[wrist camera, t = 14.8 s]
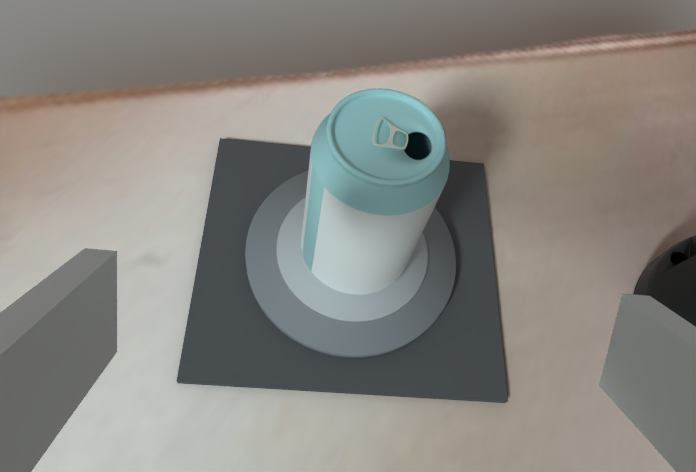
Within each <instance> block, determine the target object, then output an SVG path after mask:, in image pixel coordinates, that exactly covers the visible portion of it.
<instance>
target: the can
mask: <svg viewBox="0 0 696 472" xmlns="http://www.w3.org/2000/svg"><path fill="white" fill-rule="evenodd" d="M449 168H450V161H449V153H448V149H447V146H446V136H445V132H444V129H443V126H442V124H441V122H440V121H439V119H438V117H437V116H436V115H435V114H434V112H433V111H432V110H431V109H430V108H429V107H428V106H426V105H425V104H424V103H422V102H421V101H419V100H418V99H416V98H414V97H412V96H410V95H408V94H405V93H402V92H399V91H395V90H390V89H368V90H363V91H359V92H356V93H353V94H351V95H349V96H347V97H346V98H344V99H343V100H341V101H340V102H339V103H338V104H337V105H336V106H335V107H334V109H333V110H332V112H331V113H330V114H329V115H328V116H327V117H326V118H325V119H324V120H323V121H322V122H321V124H320V125H319V126H318V128H317V130H316V132H315V134H314V136H313V139H312V143H311V151H310V161H309V170H308V180H307V189H306V199H305V209H304V218H303V228H302V237H301V249H302V254H303V257H304V260H305V262H306V264H307V266H308V268H309V269H310V271H311V272H312V273H313V274H314V276H315V277H316V278H317V279H319V280H320V281H321V282H322V283H324V284H325V285H327V286H328V287H330V288H332V289H334V290H337V291H340V292H343V293H347V294H354V295H364V294H371V293H375V292H378V291H381V290H383V289H385V288H387V287H389V286H390V285H391V284H393V283H394V282H395V281H396V280H397V279H398V278H399V277H400V276H401V274H402V273H403V271H404V269H405V268H406V265H407V263H408V261H409V259H410V257H411V255H412V253H413V251H414V249H415V247H416V245H417V243H418V240H419V238H420V236H421V234H422V232H423V230H424V228H425V226H426V224H427V222H428V220H429V217H430V215H431V213H432V211H433V209H434V207H435V205H436V203H437V201H438V199H439V197H440V195H441V192H442V190H443V188H444V186H445V184H446V182H447V179H448V175H449Z"/></svg>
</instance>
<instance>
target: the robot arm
mask: <svg viewBox="0 0 696 472" xmlns="http://www.w3.org/2000/svg"><path fill="white" fill-rule="evenodd" d="M116 352H117V251H110V250H98V249H86V248H85V249H84V250H82V251H81V252H80V253H78V254H77V255H76V256H74V257H73V258H72V259H70V260H69V261H68V262H66V263H65V264H64V265H63V266H61V267H60V268H59V269H57V270H56V271H55V272H53V273H52V274H51V275H49V276H48V277H47V278H45V279H44V280H43V281H41V282H40V283H39V284H38V285H36V286H35V287H34V288H32V289H31V290H30V291H28V292H27V293H26V294H24V295H23V296H22V297H20V298H19V299H18V300H16V301H15V302H14V303H12V304H11V305H10V306H9V307H7V308H6V309H5V310H3V311H2V312H1V313H0V472H31V471H32V470H33V468H34V467H35V465H36V464H37V463H38V461H39V460H40V458H41V457H42V456H43V454H44V453H45V451H46V450H47V449H48V447H49V446H50V444H51V443H52V442H53V440H54V439H55V437H56V436H57V435H58V433H59V432H60V430H61V429H62V428H63V426H64V425H65V423H66V422H67V421H68V419H69V418H70V416H71V415H72V414H73V412H74V411H75V410H76V408H77V407H78V405H79V404H80V403H81V401H82V400H83V398H84V397H85V396H86V394H87V393H88V391H89V390H90V389H91V387H92V386H93V384H94V383H95V382H96V380H97V379H98V377H99V376H100V375H101V373H102V372H103V370H104V369H105V368H106V366H107V365H108V363H109V362H110V361H111V359H112V358H113V356H114V355H115V354H116ZM599 386H600V387H601V388H602V389H603V390H604V392H605V393H606V394H607V395H608V396H609V397H610V398H611V399H612V400H613V402H614V403H615V404H616V405H617V406H618V407H619V408H620V409H621V410H622V412H623V413H624V414H625V415H626V416H627V417H628V418H629V419H630V420H631V422H632V423H633V424H634V425H635V426H636V427H637V428H638V429H639V430H640V432H641V433H642V434H643V435H644V436H645V437H646V438H647V439H648V440H649V442H650V443H651V444H652V445H653V446H654V447H655V448H656V449H657V450H658V452H659V453H660V454H661V455H662V456H663V457H664V458H665V459H666V461H667V462H668V463H669V464H670V465H671V466H672V467H673V468H674V469H675V471H676V472H696V236H693V237H690V238H688V239H685V240H683V241H681V242H679V243H677V244H676V245H674V246H673V247H671V248H670V249H669V250H667V251H666V252H665V253H663V254H662V255H661V256H659V257H658V258H657V259H655V260H654V261H653V262H652V263H651V264H650V265H649V266H648V267H647V268H646V269H645V271H644V272H643V274H642V275H641V277H640V279H639V281H638V283H637V285H636V288H635V291H634V295H633V294H622V297H621V301H620V305H619V309H618V313H617V317H616V321H615V325H614V329H613V333H612V337H611V340H610V344H609V348H608V352H607V356H606V360H605V364H604V368H603V372H602V376H601V380H600V384H599Z"/></svg>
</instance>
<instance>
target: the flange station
mask: <svg viewBox="0 0 696 472" xmlns="http://www.w3.org/2000/svg"><path fill="white" fill-rule="evenodd" d="M310 151H311V147H305V146H294V145H284V144H273V143H263V142H253V141H242V140H232V139H221V138H220V142H219V147H218V153H217V158H216V164H215V170H214V175H213V181H212V186H211V192H210V198H209V203H208V209H207V214H206V220H205V226H204V231H203V237H202V242H201V248H200V254H199V259H198V265H197V270H196V276H195V282H194V287H193V293H192V298H191V304H190V310H189V315H188V321H187V326H186V332H185V338H184V343H183V349H182V354H181V360H180V366H179V371H178V377H177V382H178V383H184V384H201V385H217V386H234V387H251V388H267V389H284V390H300V391H317V392H333V393H350V394H367V395H383V396H400V397H416V398H433V399H449V400H466V401H483V402H499V403H506V402H507V401H508V397H507V387H506V378H505V368H504V358H503V349H502V339H501V329H500V320H499V310H498V300H497V290H496V281H495V271H494V261H493V252H492V242H491V232H490V223H489V213H488V203H487V194H486V184H485V174H484V165H483V164H482V163H471V162H461V161H450V160H449V161H450V168H449V175H448V179H447V182H446V184H445V186H444V188H443V190H442V192H441V195H440V197H439V199H438V201H437V203H436V205H435V207H434V209H433V211H432V213H431V215H430V217H429V220H428V222H427V224H426V226H425V228H424V230H423V232H422V234H421V236H420V238H419V240H418V243H417V245H416V247H415V249H414V251H413V253H412V255H411V257H410V259H409V261H408V263H407V265H406V268H405V269H404V271H403V273H402V274H401V276H400V277H399V278H398V279H397V280H396V281H395V282H394V283H393V284H391V285H390V286H389V287H387V288H385V289H383V290H381V291H378V292H375V293H371V294H364V295H354V294H347V293H343V292H340V291H337V290H334V289H332V288H330V287H328V286H327V285H325V284H324V283H322V282H321V281H320V280H319V279H317V278H316V277H315V276H314V274H313V273H312V272H311V271H310V269H309V268H308V266H307V264H306V262H305V260H304V257H303V254H302V249H301V237H302V228H303V218H304V209H305V199H306V189H307V180H308V170H309V161H310Z"/></svg>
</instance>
